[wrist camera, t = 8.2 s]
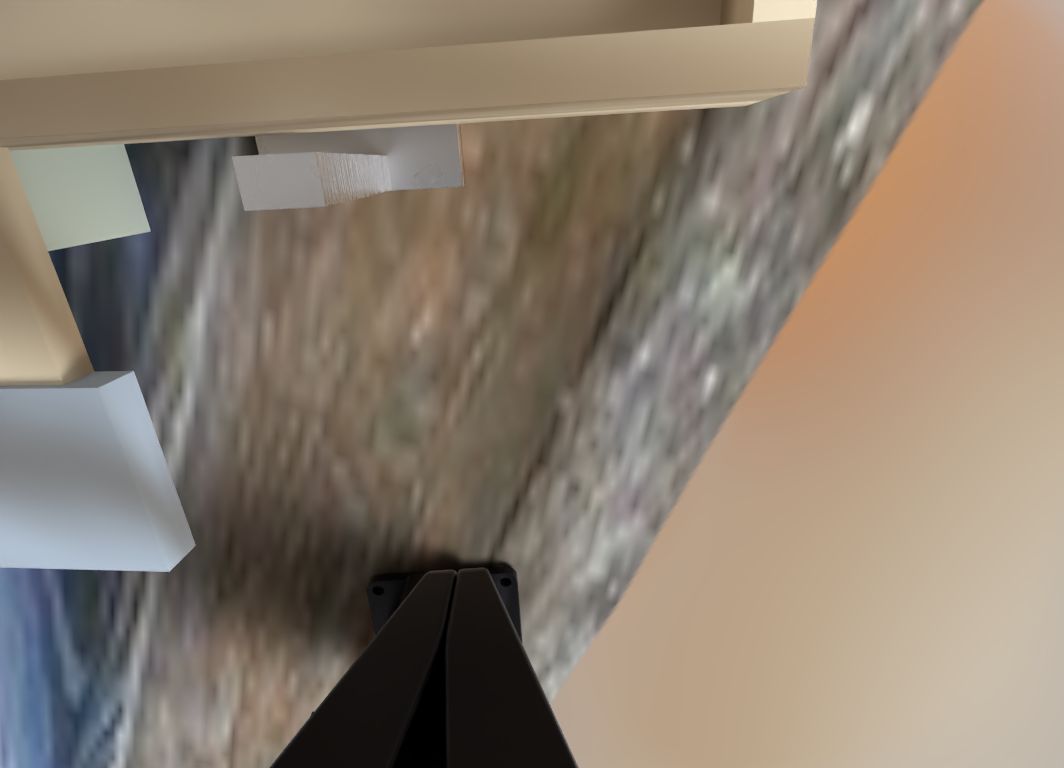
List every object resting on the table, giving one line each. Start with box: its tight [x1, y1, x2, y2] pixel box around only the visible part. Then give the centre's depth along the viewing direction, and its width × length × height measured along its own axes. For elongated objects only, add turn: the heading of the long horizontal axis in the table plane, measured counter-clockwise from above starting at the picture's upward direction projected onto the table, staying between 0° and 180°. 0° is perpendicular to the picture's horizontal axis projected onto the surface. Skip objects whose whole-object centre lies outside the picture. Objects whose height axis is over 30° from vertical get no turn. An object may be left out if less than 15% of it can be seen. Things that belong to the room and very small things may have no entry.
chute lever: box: [0, 0, 817, 572], centre depth 12 cm, size 17×19×6 cm
